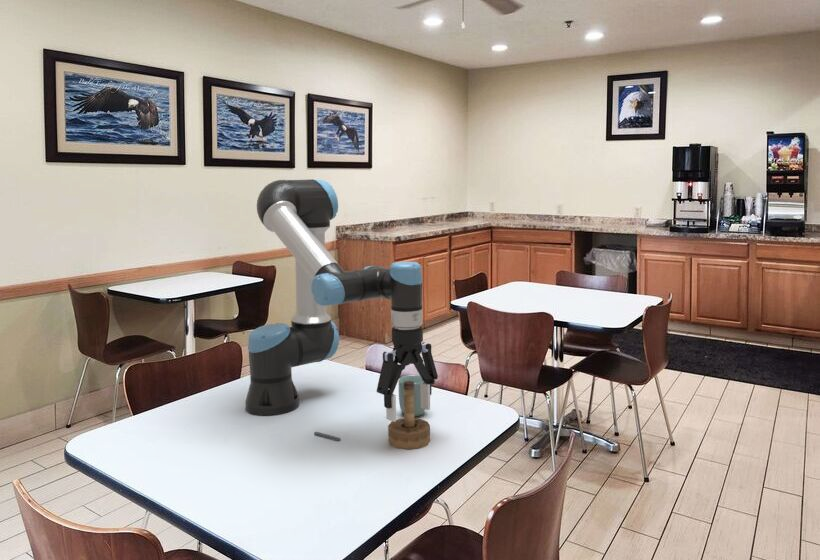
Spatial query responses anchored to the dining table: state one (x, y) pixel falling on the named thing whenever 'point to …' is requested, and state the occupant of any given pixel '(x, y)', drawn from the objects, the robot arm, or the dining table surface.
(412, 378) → the cup
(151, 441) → the dining table surface
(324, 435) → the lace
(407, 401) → the wooden rod
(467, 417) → the dining table surface
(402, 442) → the bead
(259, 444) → the dining table surface
